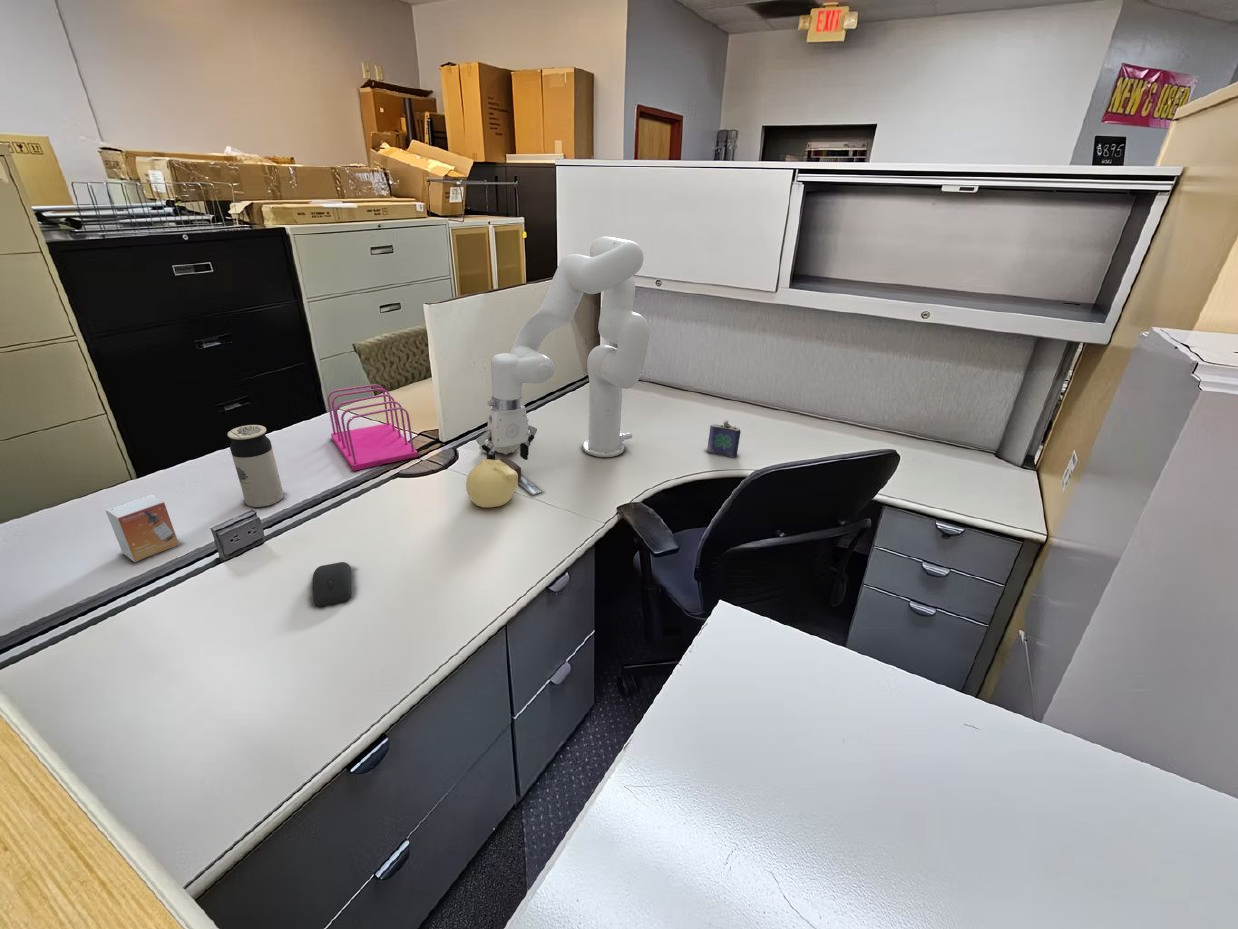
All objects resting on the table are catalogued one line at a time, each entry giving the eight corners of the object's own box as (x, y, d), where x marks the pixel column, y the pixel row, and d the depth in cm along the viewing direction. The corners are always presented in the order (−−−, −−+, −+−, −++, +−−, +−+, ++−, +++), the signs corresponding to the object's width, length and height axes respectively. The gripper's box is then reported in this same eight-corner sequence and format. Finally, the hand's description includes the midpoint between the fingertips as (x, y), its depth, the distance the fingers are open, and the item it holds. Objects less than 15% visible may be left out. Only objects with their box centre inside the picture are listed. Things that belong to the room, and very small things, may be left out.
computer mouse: (314, 608, 102) (309, 591, 100) (316, 572, 111) (312, 556, 109) (351, 600, 104) (348, 583, 103) (351, 566, 114) (347, 550, 112)
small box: (134, 563, 111) (116, 518, 106) (122, 553, 114) (103, 509, 109) (180, 544, 117) (164, 501, 113) (167, 535, 120) (151, 493, 115)
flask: (706, 452, 172) (710, 420, 167) (707, 449, 174) (712, 417, 169) (736, 458, 169) (741, 425, 164) (737, 454, 172) (742, 422, 167)
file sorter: (353, 472, 149) (343, 417, 142) (331, 439, 167) (321, 389, 160) (418, 457, 159) (412, 405, 152) (391, 427, 177) (384, 380, 170)
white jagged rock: (489, 469, 159) (529, 438, 157) (473, 449, 158) (513, 417, 156) (503, 462, 174) (540, 433, 172) (488, 443, 173) (526, 414, 171)
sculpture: (525, 501, 140) (524, 462, 135) (485, 518, 132) (483, 478, 127) (498, 484, 147) (496, 447, 142) (458, 500, 139) (455, 461, 134)
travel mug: (278, 488, 140) (261, 421, 132) (288, 500, 135) (271, 432, 127) (241, 498, 135) (221, 429, 127) (251, 511, 130) (231, 441, 122)
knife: (499, 468, 155) (499, 458, 154) (508, 466, 157) (507, 456, 156) (532, 495, 143) (532, 485, 142) (541, 492, 144) (541, 482, 143)
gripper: (482, 412, 136) (484, 474, 144) (543, 401, 146) (542, 460, 154) (469, 403, 142) (472, 463, 149) (529, 393, 152) (529, 450, 159)
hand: (508, 461), depth 151 cm, fingers open, 9 cm apart
